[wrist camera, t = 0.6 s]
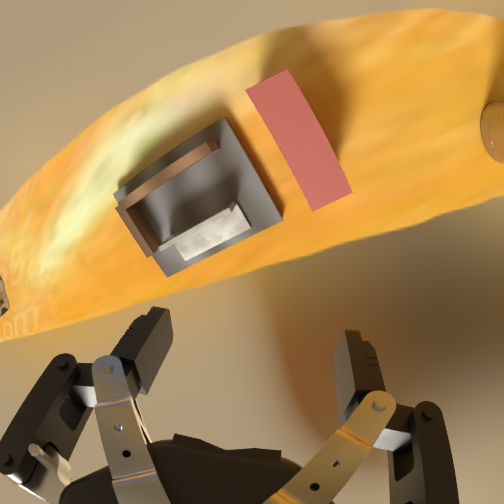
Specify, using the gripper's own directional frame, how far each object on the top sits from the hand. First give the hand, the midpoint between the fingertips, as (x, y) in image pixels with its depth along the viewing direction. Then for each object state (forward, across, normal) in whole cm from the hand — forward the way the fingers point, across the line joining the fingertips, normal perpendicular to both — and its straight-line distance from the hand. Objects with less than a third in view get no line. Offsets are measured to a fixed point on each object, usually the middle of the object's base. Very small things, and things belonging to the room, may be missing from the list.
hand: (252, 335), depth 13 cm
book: (+24, -2, -8) cm, 26 cm away
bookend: (+23, +8, +4) cm, 24 cm away
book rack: (+24, +11, 0) cm, 26 cm away
